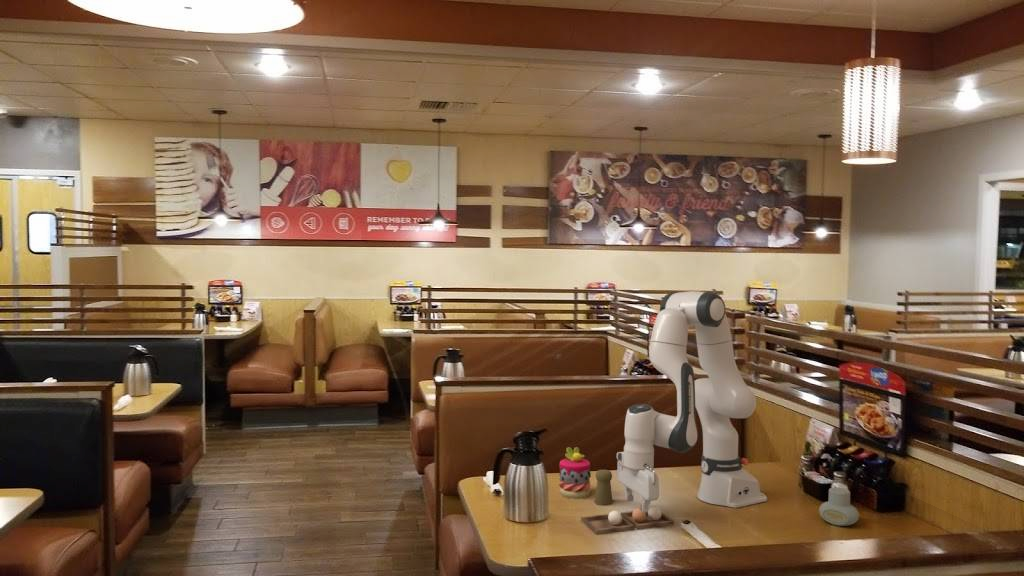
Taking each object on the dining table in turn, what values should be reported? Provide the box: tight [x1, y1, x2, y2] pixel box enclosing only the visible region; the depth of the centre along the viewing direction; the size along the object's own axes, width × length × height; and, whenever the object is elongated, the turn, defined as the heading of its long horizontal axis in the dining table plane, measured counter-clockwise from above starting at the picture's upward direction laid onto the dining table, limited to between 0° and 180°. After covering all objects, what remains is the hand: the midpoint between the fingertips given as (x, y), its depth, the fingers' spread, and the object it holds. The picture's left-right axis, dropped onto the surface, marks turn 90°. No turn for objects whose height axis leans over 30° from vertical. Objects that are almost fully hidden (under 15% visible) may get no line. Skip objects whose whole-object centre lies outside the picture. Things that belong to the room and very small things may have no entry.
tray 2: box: [619, 508, 675, 531], centre depth 216 cm, size 12×11×2 cm
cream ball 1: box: [608, 510, 622, 525], centre depth 213 cm, size 4×4×4 cm
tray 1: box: [580, 513, 635, 536], centre depth 212 cm, size 12×11×2 cm
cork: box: [593, 469, 614, 507], centre depth 232 cm, size 6×6×11 cm
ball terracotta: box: [632, 507, 646, 522], centre depth 215 cm, size 4×4×4 cm
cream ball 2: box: [648, 506, 662, 520], centre depth 217 cm, size 4×4×4 cm
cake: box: [558, 446, 592, 500], centre depth 242 cm, size 10×11×15 cm
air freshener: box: [818, 486, 860, 527], centre depth 217 cm, size 11×8×10 cm
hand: (636, 506), depth 215 cm, fingers open, 8 cm apart
